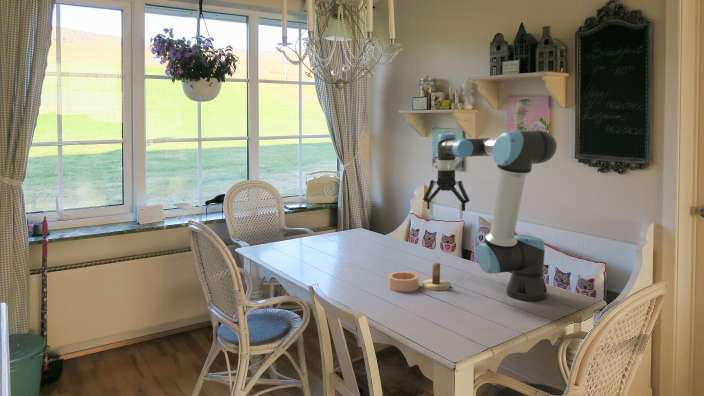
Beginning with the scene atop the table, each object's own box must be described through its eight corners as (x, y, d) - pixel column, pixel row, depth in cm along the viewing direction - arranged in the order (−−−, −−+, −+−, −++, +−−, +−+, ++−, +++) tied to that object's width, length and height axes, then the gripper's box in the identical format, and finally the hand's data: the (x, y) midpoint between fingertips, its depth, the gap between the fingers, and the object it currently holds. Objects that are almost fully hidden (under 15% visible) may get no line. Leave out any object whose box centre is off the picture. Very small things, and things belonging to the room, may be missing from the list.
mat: (452, 291, 209) (452, 289, 209) (428, 293, 208) (428, 290, 208) (443, 283, 219) (443, 281, 219) (420, 285, 217) (420, 283, 217)
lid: (453, 289, 209) (454, 267, 208) (427, 291, 207) (427, 268, 206) (444, 281, 220) (444, 259, 218) (418, 282, 218) (419, 261, 216)
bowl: (422, 292, 208) (422, 279, 207) (392, 294, 206) (393, 281, 205) (413, 283, 220) (413, 270, 219) (385, 285, 218) (385, 272, 217)
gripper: (476, 169, 229) (475, 217, 232) (421, 168, 239) (421, 214, 242) (473, 170, 223) (472, 220, 225) (416, 169, 233) (416, 217, 236)
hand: (445, 217), depth 234 cm, fingers open, 13 cm apart
